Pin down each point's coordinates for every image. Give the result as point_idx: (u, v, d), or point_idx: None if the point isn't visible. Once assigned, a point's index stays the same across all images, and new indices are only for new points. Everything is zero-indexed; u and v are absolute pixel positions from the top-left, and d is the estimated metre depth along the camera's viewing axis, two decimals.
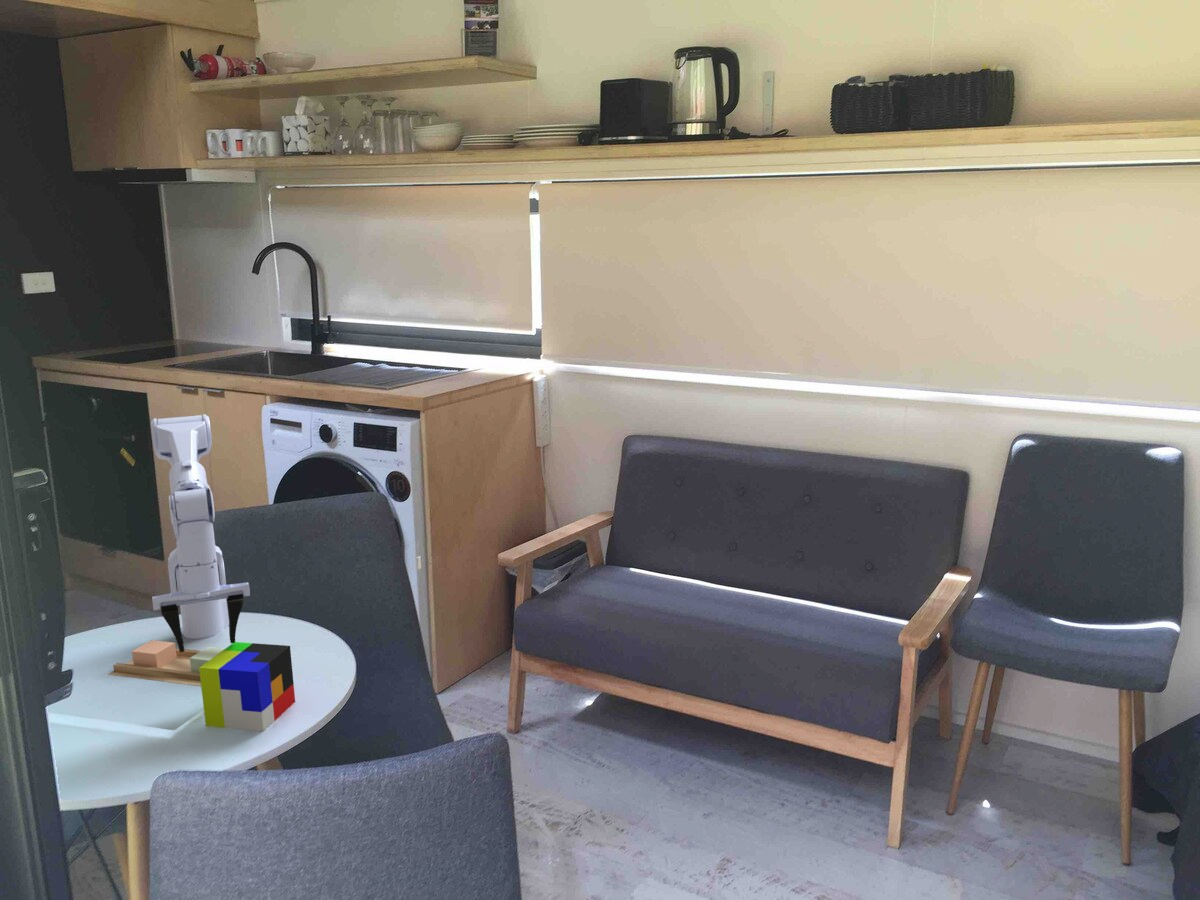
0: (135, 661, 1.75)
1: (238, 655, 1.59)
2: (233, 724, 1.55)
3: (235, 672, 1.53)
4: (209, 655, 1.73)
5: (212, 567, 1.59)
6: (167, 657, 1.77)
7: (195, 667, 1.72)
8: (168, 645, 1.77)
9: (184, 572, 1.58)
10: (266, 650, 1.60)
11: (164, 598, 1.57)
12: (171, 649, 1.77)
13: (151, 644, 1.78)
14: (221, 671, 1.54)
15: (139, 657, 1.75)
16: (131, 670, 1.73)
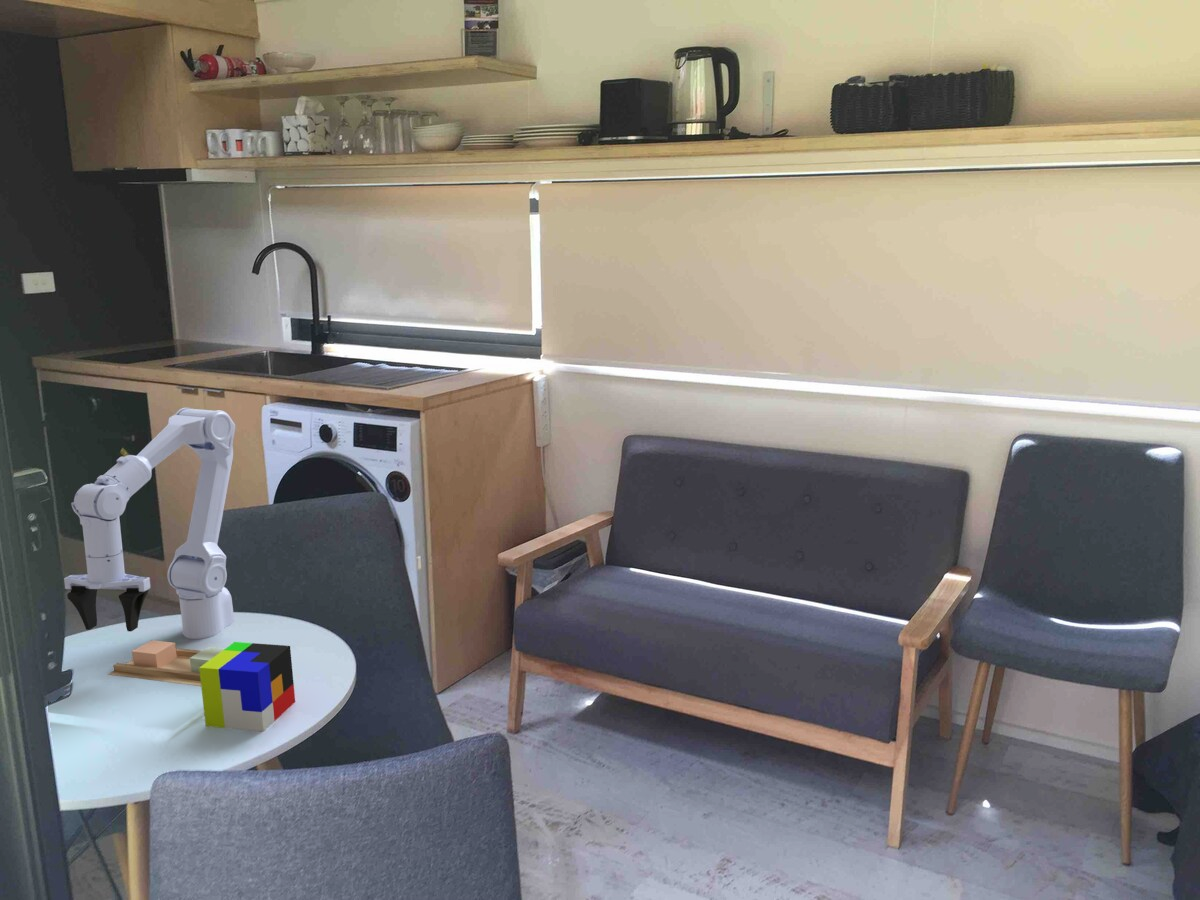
0: (135, 661, 1.75)
1: (238, 655, 1.59)
2: (233, 724, 1.55)
3: (235, 672, 1.53)
4: (209, 655, 1.73)
5: (109, 560, 1.68)
6: (167, 657, 1.77)
7: (195, 667, 1.72)
8: (168, 645, 1.77)
9: (86, 561, 1.69)
10: (266, 650, 1.60)
11: (72, 580, 1.70)
12: (171, 649, 1.77)
13: (151, 644, 1.78)
14: (221, 671, 1.54)
15: (139, 657, 1.75)
16: (131, 670, 1.73)
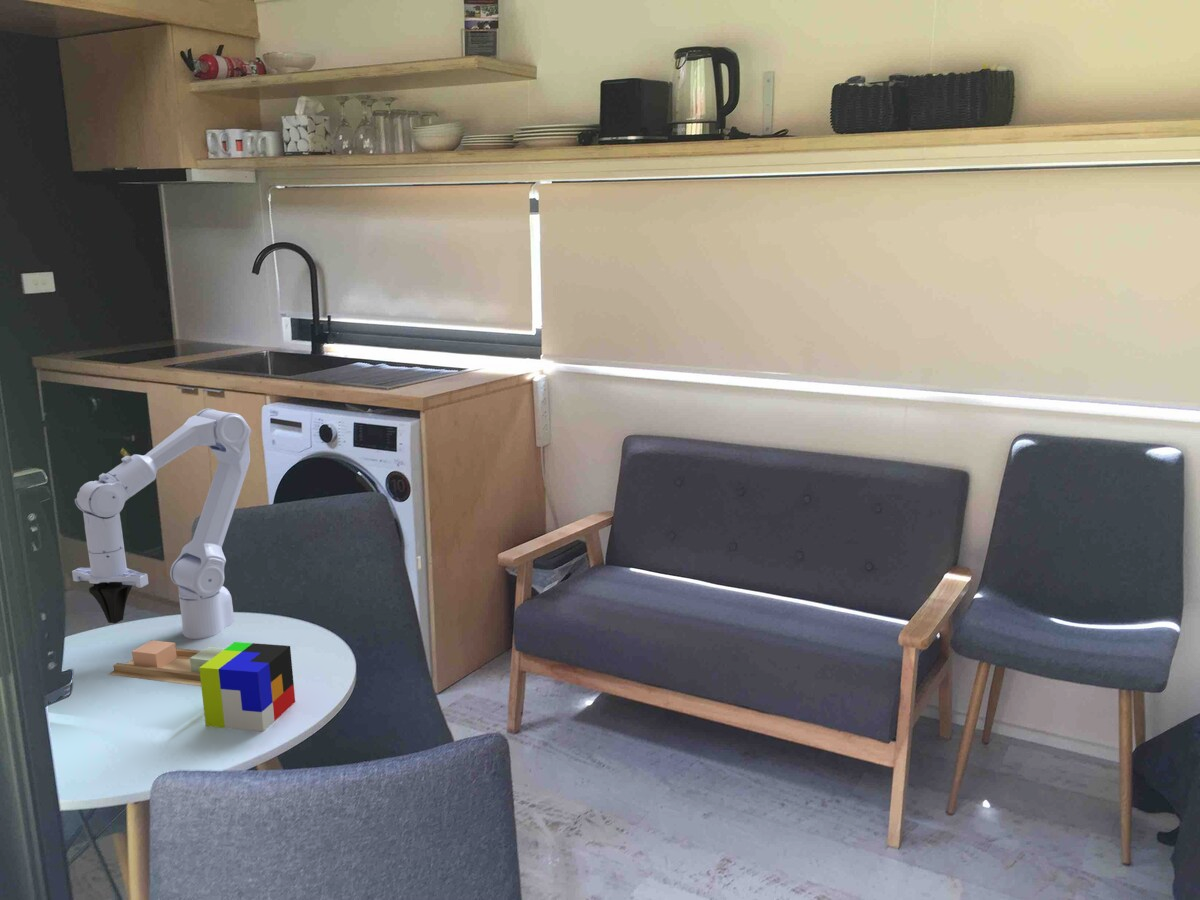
0: (135, 661, 1.75)
1: (238, 655, 1.59)
2: (233, 724, 1.55)
3: (235, 672, 1.53)
4: (209, 655, 1.73)
5: (108, 556, 1.73)
6: (167, 657, 1.77)
7: (195, 667, 1.72)
8: (168, 645, 1.77)
9: None
10: (266, 650, 1.60)
11: (78, 573, 1.76)
12: (171, 649, 1.77)
13: (151, 644, 1.78)
14: (221, 671, 1.54)
15: (139, 657, 1.75)
16: (131, 670, 1.73)
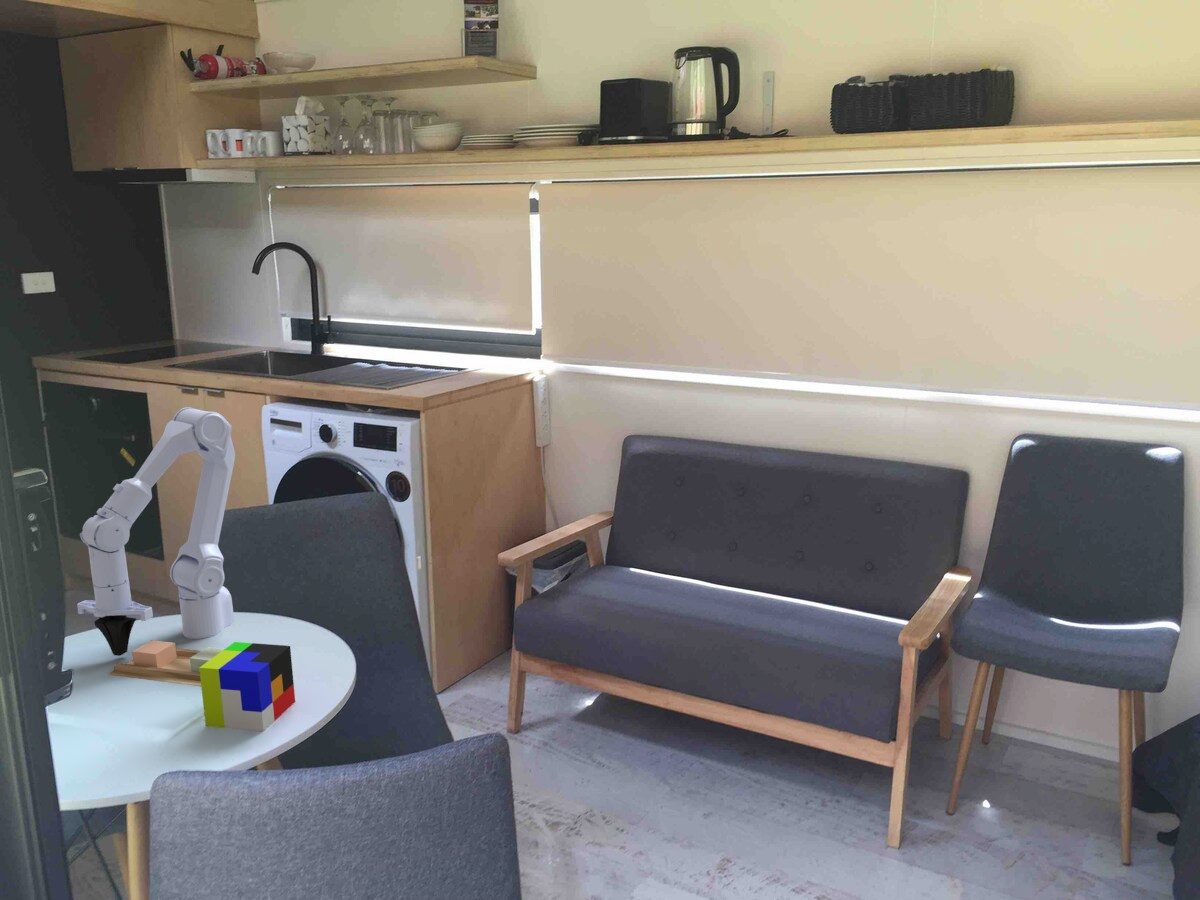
0: (135, 661, 1.75)
1: (238, 655, 1.59)
2: (233, 724, 1.55)
3: (235, 672, 1.53)
4: (209, 655, 1.73)
5: (113, 590, 1.74)
6: (167, 657, 1.77)
7: (195, 667, 1.72)
8: (168, 645, 1.77)
9: None
10: (266, 650, 1.60)
11: (83, 606, 1.77)
12: (171, 649, 1.77)
13: (151, 644, 1.78)
14: (221, 671, 1.54)
15: (139, 657, 1.75)
16: (131, 670, 1.73)
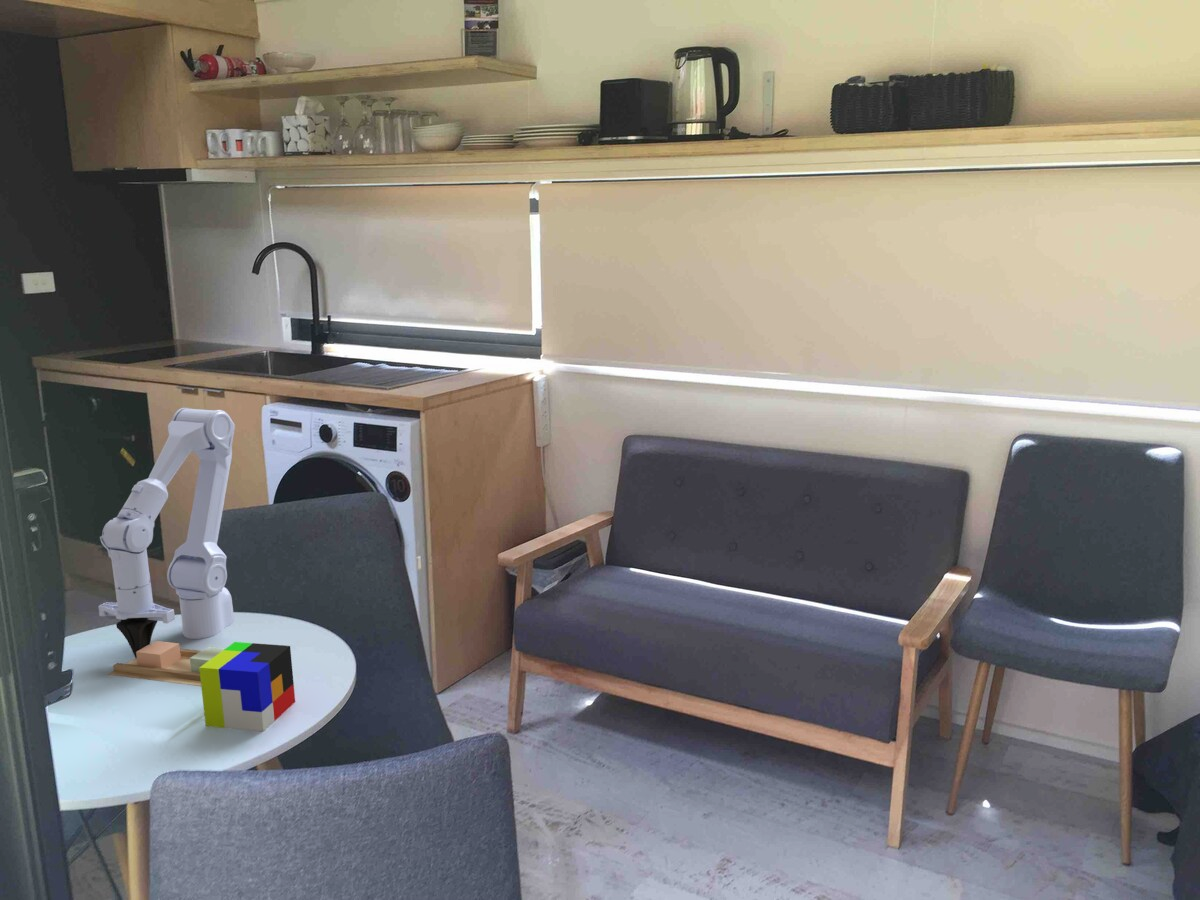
0: (139, 662, 1.75)
1: (238, 655, 1.59)
2: (233, 724, 1.55)
3: (235, 672, 1.53)
4: (209, 655, 1.73)
5: (135, 592, 1.73)
6: (171, 657, 1.76)
7: (195, 667, 1.72)
8: (172, 646, 1.77)
9: None
10: (266, 650, 1.60)
11: (105, 608, 1.76)
12: (175, 650, 1.77)
13: (155, 645, 1.77)
14: (221, 671, 1.54)
15: (143, 658, 1.75)
16: (131, 670, 1.73)
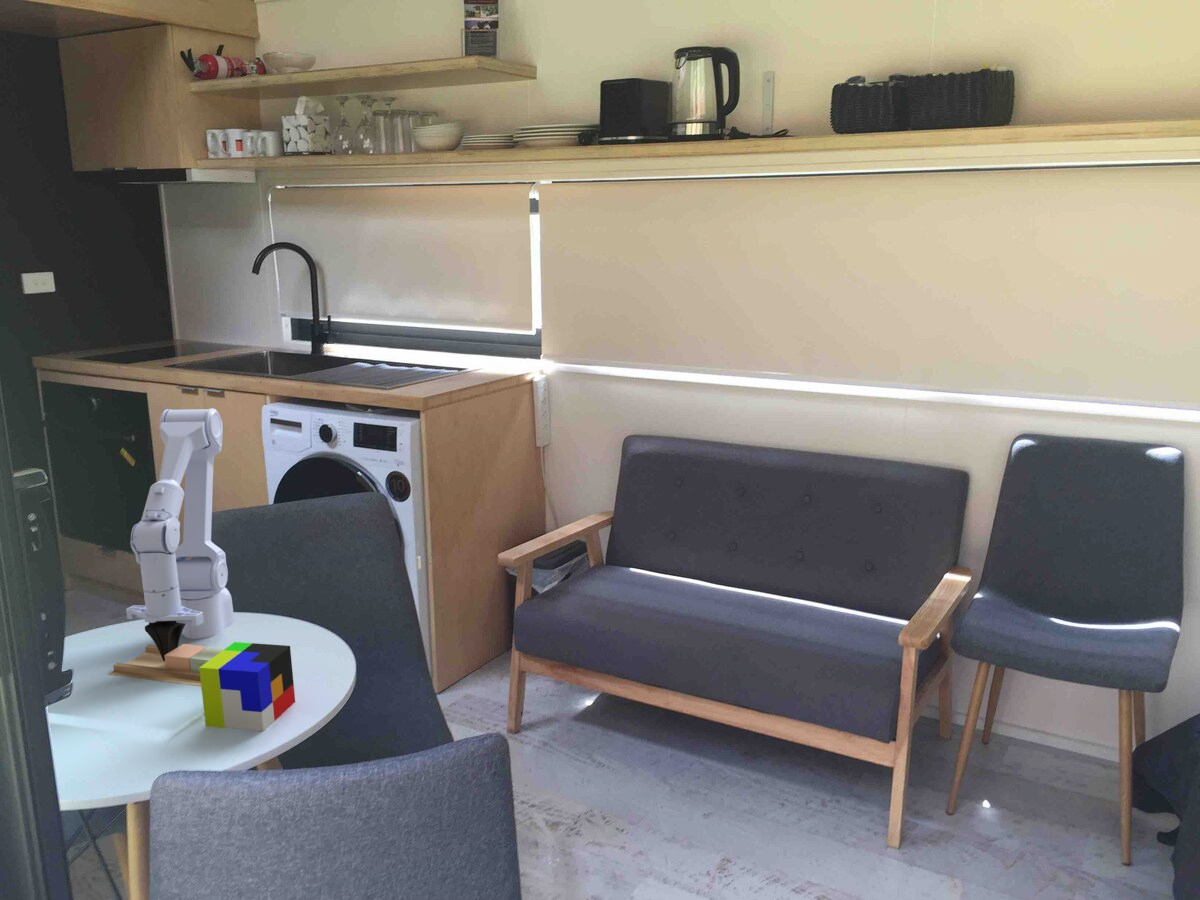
0: (168, 665, 1.73)
1: (238, 655, 1.59)
2: (233, 724, 1.55)
3: (235, 672, 1.53)
4: (209, 655, 1.73)
5: (164, 595, 1.71)
6: None
7: (195, 667, 1.72)
8: (201, 649, 1.75)
9: (144, 594, 1.72)
10: (266, 650, 1.60)
11: (133, 611, 1.75)
12: None
13: (183, 648, 1.76)
14: (221, 671, 1.54)
15: (172, 661, 1.73)
16: (131, 670, 1.73)
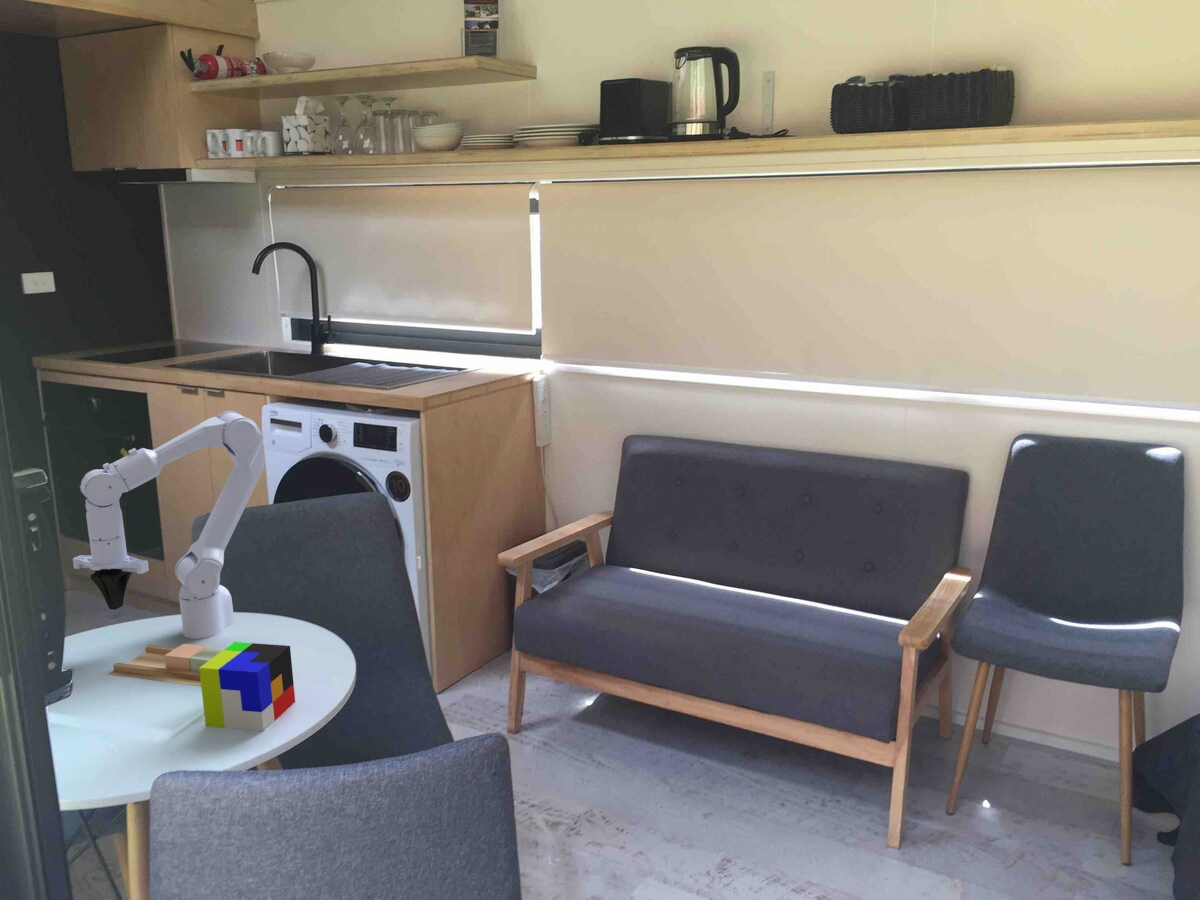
0: (168, 665, 1.73)
1: (238, 655, 1.59)
2: (233, 724, 1.55)
3: (235, 672, 1.53)
4: (209, 655, 1.73)
5: (109, 543, 1.76)
6: None
7: (195, 667, 1.72)
8: (201, 649, 1.75)
9: (90, 543, 1.78)
10: (266, 650, 1.60)
11: (79, 560, 1.80)
12: None
13: (183, 648, 1.76)
14: (221, 671, 1.54)
15: (172, 661, 1.73)
16: (131, 670, 1.73)
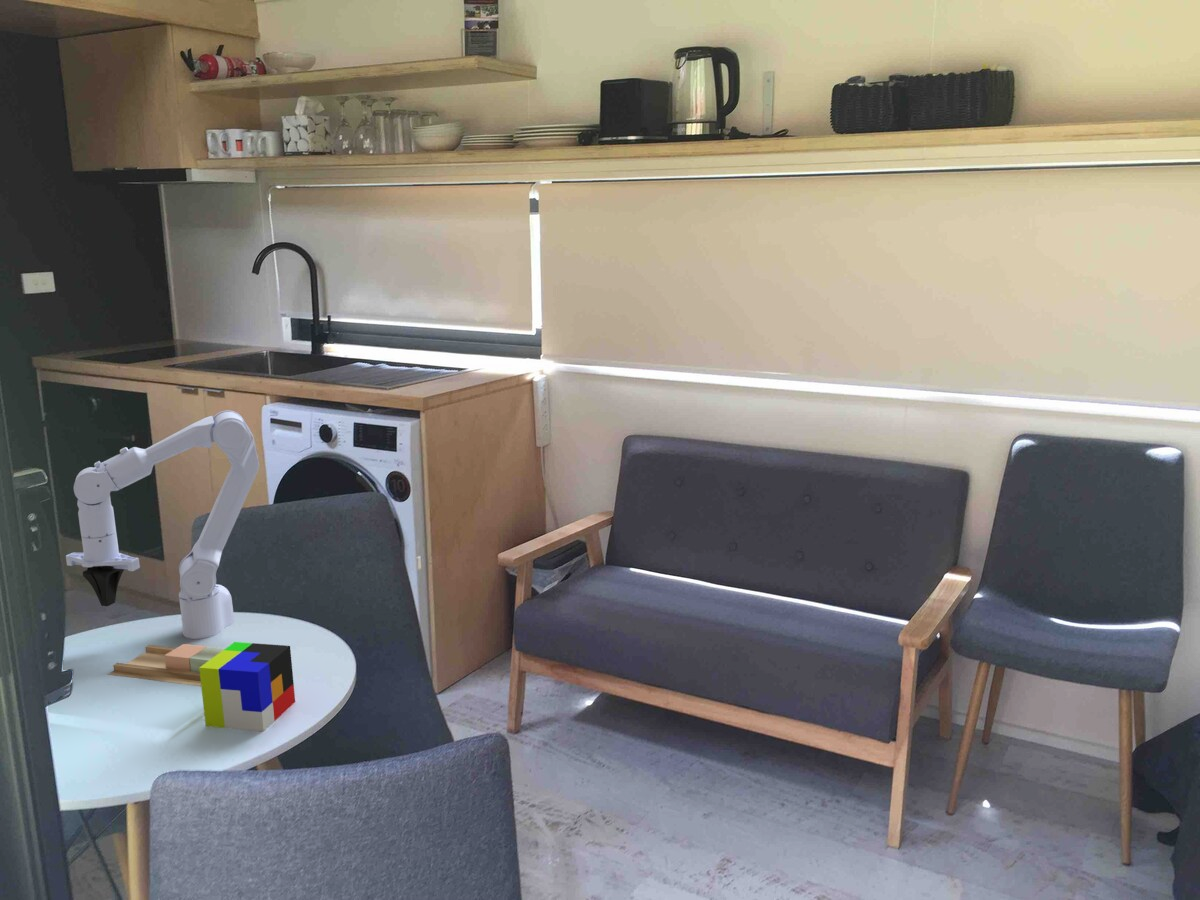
0: (168, 665, 1.73)
1: (238, 655, 1.59)
2: (233, 724, 1.55)
3: (235, 672, 1.53)
4: (209, 655, 1.73)
5: (101, 541, 1.78)
6: None
7: (195, 667, 1.72)
8: (201, 649, 1.75)
9: (82, 540, 1.79)
10: (266, 650, 1.60)
11: (72, 557, 1.82)
12: None
13: (183, 648, 1.76)
14: (221, 671, 1.54)
15: (172, 661, 1.73)
16: (131, 670, 1.73)
